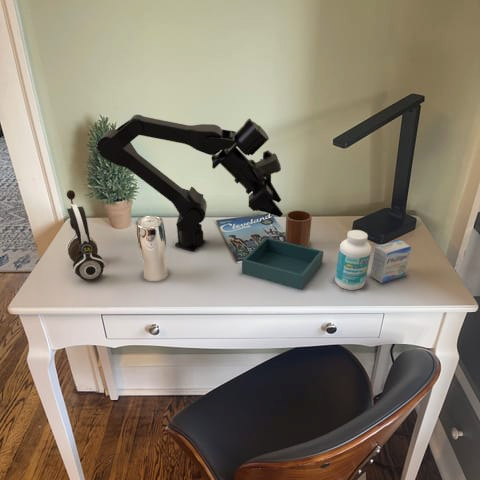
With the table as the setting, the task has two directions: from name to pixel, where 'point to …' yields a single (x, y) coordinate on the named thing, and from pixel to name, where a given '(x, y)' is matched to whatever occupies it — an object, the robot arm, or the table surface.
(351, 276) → the pill bottle
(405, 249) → the medicine box
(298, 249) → the tray
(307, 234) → the cup
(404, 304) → the table surface
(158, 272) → the beer glass
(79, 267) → the headset
